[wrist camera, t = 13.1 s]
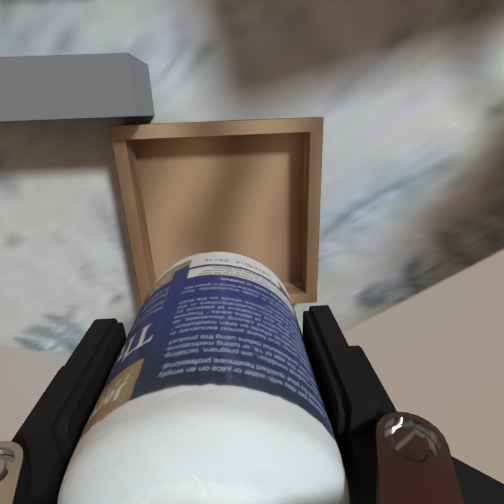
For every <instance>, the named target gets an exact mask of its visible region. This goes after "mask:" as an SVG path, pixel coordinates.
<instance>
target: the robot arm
mask: <svg viewBox="0 0 504 504" xmlns="http://www.w3.org/2000/svg"><path fill="white" fill-rule="evenodd" d="M303 340H304V343H305V346H306V350H307V353H308V356H309V359H310V362H311V365H312V368H313V371H314V374H315V377H316V380H317V383H318V386H319V390H320V393H321V396H322V399H323V402H324V406H325V409H326V412H327V415H328V417H329V420H330V424H331V427H332V430H333V433H334V436H335V439H336V442H337V445H338V448H339V451H340V454H341V457H342V462H343V466H344V470H345V474H346V478H347V482H348V489H349V500H350V504H504V484H502V483H501V482H499V481H497V480H495V479H493V478H491V477H489V476H488V475H486V474H484V473H482V472H480V471H478V470H476V469H475V468H473V467H470V466H469V465H467V464H465V463H463V462H461V461H460V460H458V459H456V458H454V457H452V456H451V454H450V450H449V446H448V444H447V442H446V440H445V438H444V436H443V435H442V433H441V432H440V431H439V430H438V429H437V428H436V427H435V426H434V425H432V424H431V423H430V422H429V421H427V420H425V419H423V418H421V417H419V416H417V415H414V414H410V413H406V412H397V411H396V409H395V407H394V405H393V403H392V402H391V400H390V398H389V396H388V394H387V393H386V391H385V389H384V387H383V385H382V384H381V382H380V380H379V378H378V376H377V375H376V373H375V371H374V369H373V368H372V366H371V364H370V362H369V360H368V359H367V357H366V355H365V353H364V351H363V350H362V348H361V347H360V346H348V343H347V342H346V339H345V338H344V336H343V334H342V332H341V330H340V328H339V326H338V324H337V322H336V320H335V318H334V316H333V314H332V312H331V310H330V308H329V306H328V305H323V306H310V307H309V311H304V312H303ZM125 341H126V334H125V329H124V325H123V323H118V322H117V320H116V319H115V318H112V319H97V320H95V321H94V322H93V323H92V325H91V326H90V328H89V329H88V331H87V332H86V334H85V335H84V337H83V338H82V340H81V341H80V343H79V344H78V346H77V347H76V349H75V350H74V352H73V353H72V355H71V356H70V358H69V360H68V361H67V363H66V364H65V366H63V367H62V368H61V369H60V370H59V371H58V372H57V374H56V375H55V377H54V378H53V380H52V381H51V383H50V384H49V386H48V387H47V389H46V390H45V392H44V393H43V395H42V396H41V398H40V399H39V401H38V402H37V404H36V405H35V407H34V408H33V410H32V411H31V413H30V414H29V416H28V417H27V419H26V420H25V422H24V423H23V425H22V426H21V427H20V429H19V431H18V432H17V434H16V435H15V436H14V438H13V439H12V441H1V442H0V504H57V502H58V496H59V491H60V488H61V484H62V481H63V478H64V475H65V472H66V470H67V467H68V465H69V462H70V460H71V457H72V455H73V453H74V450H75V448H76V446H77V444H78V441H79V439H80V437H81V435H82V432H83V430H84V428H85V426H86V424H87V422H88V420H89V418H90V415H91V413H92V411H93V410H94V408H95V405H96V403H97V400H98V398H99V396H100V394H101V392H102V390H103V388H104V386H105V384H106V382H107V380H108V377H109V375H110V373H111V371H112V369H113V366H114V364H115V362H116V360H117V357H118V355H119V353H120V351H121V349H122V347H123V345H124V343H125Z"/></svg>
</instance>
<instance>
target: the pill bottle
mask: <svg viewBox="0 0 504 504" xmlns="http://www.w3.org/2000/svg"><path fill="white" fill-rule="evenodd" d="M57 504H350V500H349V489H348V482H347V478H346V474H345V470H344V466H343V462H342V457H341V454H340V451H339V448H338V445H337V442H336V439H335V436H334V433H333V430H332V427H331V424H330V420H329V417H328V415H327V412H326V409H325V406H324V402H323V399H322V396H321V393H320V390H319V386H318V383H317V380H316V377H315V374H314V371H313V368H312V365H311V362H310V359H309V356H308V353H307V350H306V346H305V343H304V340H303V337H302V333H301V330H300V327H299V324H298V321H297V317H296V313H295V310H294V308H293V306H292V303H291V300H290V297H289V295H288V293H287V291H286V289H285V287H284V285H283V284H282V282H281V281H280V280H279V279H278V277H277V276H276V275H275V274H274V273H273V272H272V271H270V270H269V269H268V268H267V267H266V266H264V265H262V264H261V263H259V262H257V261H255V260H253V259H251V258H248V257H246V256H243V255H239V254H235V253H230V252H208V253H199V254H195V255H192V256H189V257H186V258H184V259H182V260H180V261H178V262H177V263H175V264H174V265H172V266H171V267H170V268H168V269H167V270H166V271H165V272H164V273H163V274H162V275H161V276H160V277H159V278H158V279H157V280H156V282H155V283H154V284H153V286H152V288H151V289H150V291H149V293H148V295H147V296H146V298H145V300H144V303H143V305H142V307H141V309H140V311H139V313H138V316H137V318H136V320H135V322H134V324H133V326H132V328H131V330H130V332H129V335H128V337H127V339H126V341H125V343H124V345H123V347H122V349H121V351H120V353H119V355H118V357H117V360H116V362H115V364H114V366H113V369H112V371H111V373H110V375H109V377H108V380H107V382H106V384H105V386H104V388H103V390H102V392H101V394H100V396H99V398H98V400H97V403H96V405H95V408H94V410H93V411H92V413H91V415H90V418H89V420H88V422H87V424H86V426H85V428H84V430H83V432H82V435H81V437H80V439H79V441H78V444H77V446H76V448H75V450H74V453H73V455H72V457H71V460H70V462H69V465H68V467H67V470H66V472H65V475H64V478H63V481H62V484H61V488H60V491H59V496H58V502H57Z"/></svg>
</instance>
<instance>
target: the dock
mask: <svg viewBox="0 0 504 504" xmlns="http://www.w3.org/2000/svg"><path fill="white" fill-rule="evenodd" d="M132 116H154V108H153V101H152V93H151V86H150V78H149V71H148V65H147V64H146V63H144V62H142V61H141V60H139V59H137V58H136V57H134V56H132V55H131V54H129V53H112V54H81V55H51V56H20V57H0V122H6V121H31V120H56V119H81V118H106V117H132Z"/></svg>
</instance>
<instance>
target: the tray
mask: <svg viewBox="0 0 504 504" xmlns="http://www.w3.org/2000/svg"><path fill="white" fill-rule="evenodd" d="M109 127H110V133H111V139H112V144H113V150H114V155H115V161H116V166H117V172H118V178H119V183H120V189H121V194H122V200H123V205H124V211H125V217H126V222H127V228H128V233H129V239H130V244H131V250H132V256H133V261H134V267H135V272H136V278H137V283H138V289H139V295H140V300H141V306H142V305H143V303H144V300H145V298H146V296H147V295H148V293H149V291H150V289H151V288H152V286H153V284H154V283H155V282H156V280H157V279H158V278H159V277H160V276H161V275H162V274H163V273H164V272H165V271H166V270H167V269H168V268H170V267H171V266H172V265H174V264H175V263H177V262H178V261H180V260H182V259H184V258H186V257H189V256H192V255H195V254H199V253H208V252H230V253H235V254H239V255H243V256H246V257H248V258H251V259H253V260H255V261H257V262H259V263H261V264H262V265H264V266H266V267H267V268H268V269H269V270H270V271H272V272H273V273H274V274H275V275H276V276H277V277H278V279H279V280H280V281H281V282H282V284H283V285H284V287H285V289H286V291H287V293H288V295H289V297H290V300H291V303H292V304H294V303H310V302H317V277H318V251H319V224H320V197H321V170H322V144H323V117H306V118H282V119H257V120H232V121H208V122H183V123H158V124H134V125H116V126H109Z"/></svg>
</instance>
